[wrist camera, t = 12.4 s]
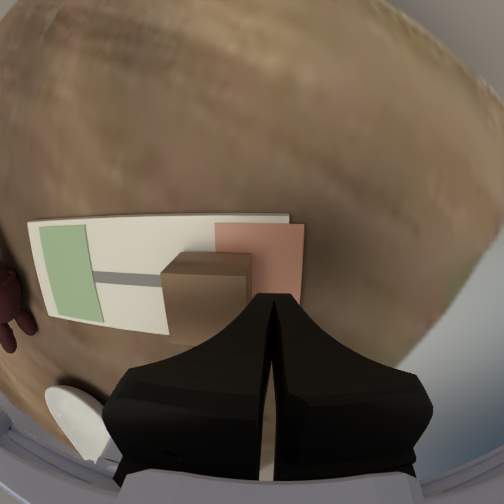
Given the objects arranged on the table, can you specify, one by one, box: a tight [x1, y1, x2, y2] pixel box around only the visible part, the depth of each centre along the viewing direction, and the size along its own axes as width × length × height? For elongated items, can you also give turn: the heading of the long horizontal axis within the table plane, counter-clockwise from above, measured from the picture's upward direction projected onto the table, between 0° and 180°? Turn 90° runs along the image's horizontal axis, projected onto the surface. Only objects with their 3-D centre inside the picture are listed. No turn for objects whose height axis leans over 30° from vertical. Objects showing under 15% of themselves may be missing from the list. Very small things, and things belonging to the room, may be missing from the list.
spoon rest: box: [45, 385, 110, 464], centre depth 28 cm, size 24×12×7 cm, turn 13°
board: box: [27, 213, 304, 335], centre depth 22 cm, size 10×25×1 cm, turn 90°
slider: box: [160, 252, 252, 346], centre depth 18 cm, size 5×5×4 cm
